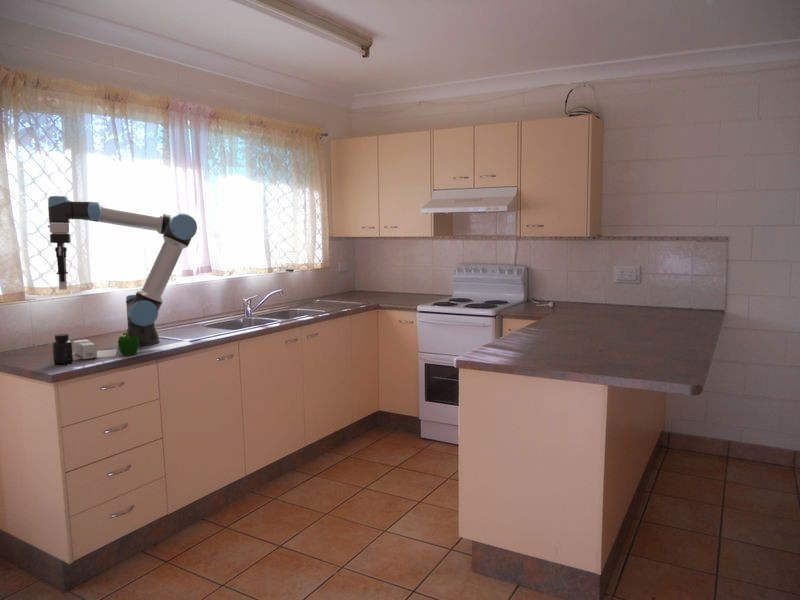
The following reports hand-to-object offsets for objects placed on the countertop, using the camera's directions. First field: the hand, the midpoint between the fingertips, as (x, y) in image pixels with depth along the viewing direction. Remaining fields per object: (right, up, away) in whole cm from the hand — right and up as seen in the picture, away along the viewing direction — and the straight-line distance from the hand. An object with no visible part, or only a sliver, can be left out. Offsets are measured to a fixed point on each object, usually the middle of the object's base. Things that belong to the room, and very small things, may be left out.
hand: (63, 289), depth 255 cm
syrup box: (+15, -26, -7) cm, 30 cm away
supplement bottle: (+8, -30, -14) cm, 34 cm away
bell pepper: (+26, -28, +4) cm, 39 cm away
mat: (+11, -28, +2) cm, 30 cm away
